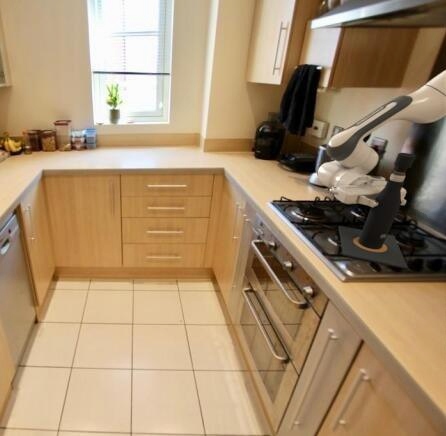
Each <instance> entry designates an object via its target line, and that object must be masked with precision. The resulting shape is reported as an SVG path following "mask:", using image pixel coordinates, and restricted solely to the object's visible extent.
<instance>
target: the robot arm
mask: <svg viewBox="0 0 446 436" xmlns="http://www.w3.org/2000/svg"><path fill="white" fill-rule="evenodd" d="M444 117H446V69H445V70H444V71H441V72H440V73H439V74H437V75H436V76H434V77H433V78H431V79H430V80H429V81H428V82H426V83H425V84H424V85H422V86H421V87H420V88H418V89H417V90H415V91H414V92H411V93H409V94H407V95H399V96H397V97H394V98H392V99H390V100H389V101H387V102H385V103H384V104H382V105H380V106H379V107H377V108H376V109H374V110H373V111H371V112H369V113H368V114H367V115H365V116H364V117H362V118H360V119H359V120H358V121H355V123H353V124H351V125H349V126H348V127H347V128H344V129H342V130H340V131H338V132H337V133H335V134H333V135H332V136H331V137H330V138H329V139H328V141H327V143H326V146H325V153H326V155H327V157H329V158H331V159H332V160H333V161H327V162H324V163H323V164H321V165H320V167H319V168H318V170H317V178H318V180H319V182H320V183H321V184H322V185H324V186H325V187H327V188H328V189H329V192H330V193H332V194H333V196H334V198H335V199H337V200H338V201H339V202H341V203H342V204H345V205H356V204H358V205H359V204H360V205H363V206H364V205H365V206H368V207H370V208H371V207H377V206H378V204H379V203H378V202H377V201H376V200H375V198H376V197H377V196H378V194H379V193H380V192H381V191H382V190H383V189H384V188H385V186H386V183H387V181H388V180H386V178H385V177H383V176H378V175H377V176H375V175H369V173H371V172H372V171H373V170H374V169H375V168H376V166H377V165H378V163H379V160H380V156H379V153H378V152H376V150H375V149H374V148H372V146H371V145H369V144H368V143H366V141H364V139H365V138H366V137H367V136H369V135H371V134H372V133H374V132H375V131H377V130H379V129H380V128H382V127H383V126H385V125H387V124H388V123H391V122H393V121H407V122H410V123H414V124H429V123H430V124H431V123H434V122H437V121H439V120H440V119H443V118H444ZM406 194H407V189H405V188H404V187H402V189H401V201H400V206H405V205H406V203H407V200H406V199H405V197H406Z"/></svg>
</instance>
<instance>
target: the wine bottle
mask: <svg viewBox="0 0 446 436" xmlns="http://www.w3.org/2000/svg"><path fill="white" fill-rule="evenodd" d="M415 159H416V155H415V154H412V153H408V152H399V153H397V155H396V158H395V161H394V163H393V165H394V166H395V168H394V170H393V172H392V173H391V174H390V176H389V178H388V179H387V180H386V181H387V183H386V186H385V188H384V189H383V190H382V191H381V192H380V193H379V194H378V196H377V197H376V198H375V200H376V201H377V202H378V203H379V204H378V206H377V207H370V209H369V212H368V214H367V217H366V220H365V222H364V225H363V227H362V229H361V230H362V232H361V235H360V237H359V240H358V242H359V244H361V245H362V246H364V247H366V248H370V249H381V248H382V246H383V244H384V242H385V239H386V237H387V235H389V233H390V230H391V228H392V225H393V224H394V221H395V219H396V217H397V214H398V212H399V210H400V206H401V205H400V201H401V189H402V188H403V186H404V184H405V178H406V172H407V170H408V169H409V168H412V165H413V163H414V161H415Z"/></svg>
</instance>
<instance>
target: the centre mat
mask: <svg viewBox="0 0 446 436" xmlns="http://www.w3.org/2000/svg"><path fill="white" fill-rule="evenodd" d="M362 230H363V229H359V228H353V227H347V226H342V225H339V226H338V232H339V233H338V234H339V239H340V247H341V253H342V256H343V257H348V258H353V259H357V260H361V261H367V262H372V263H376V264H380V265H384V266H391V267H395V268H400V269H403V270H408V269H409V266H408V265H407V262H406V260H405V258H404V255H403V253H402V251H401V249H400V246H399V244H398V241H397V239H396V237H395V235H392V234H388V235H387V237H386V239H385V242H384V244H383V246H382V248H381V249H370V248H366V247H364V246H362V245H361V244H359V242H358V240H359V237H360V235H361V232H362Z"/></svg>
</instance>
